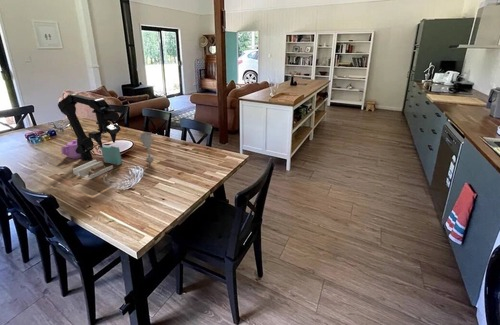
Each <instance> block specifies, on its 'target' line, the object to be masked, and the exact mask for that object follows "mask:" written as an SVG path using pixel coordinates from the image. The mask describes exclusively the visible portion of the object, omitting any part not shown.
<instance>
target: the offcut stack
mask: <svg viewBox="0 0 500 325" xmlns="http://www.w3.org/2000/svg"><path fill="white" fill-rule="evenodd" d="M107 167H108V166H105V164H99V165H97V166H95V167H93V168H91V170H90V171H88V172H89V173H88V175H89V176H90V175H92V174H94V173H96V172H98V171H100V170H103V169H105V168H107Z"/></svg>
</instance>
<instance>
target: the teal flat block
mask: <svg viewBox="0 0 500 325" xmlns="http://www.w3.org/2000/svg"><path fill="white" fill-rule="evenodd" d="M102 146H103V147H100V149H101V153H102V158H103V161H104V162H103V163H107V164H112V165H117V166H119V165H121V164H123V160H122V159H123V158H122V156H121V152H120V147H119V146H115V145H114V146H113V145H106V144H104V145H103V144H102Z"/></svg>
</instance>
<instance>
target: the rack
mask: <svg viewBox="0 0 500 325" xmlns="http://www.w3.org/2000/svg"><path fill="white" fill-rule="evenodd" d="M103 163H104V162H103V161H102V160H99V161H97V159H92V160H90V161H88V162H86V163H84V164H81V165H79V166H76V167H74V168H72V172H73V175H74V176H78V177H82V178H86V179H90V180H93V178H96V177H99V176H100V175H103V174H105V173H106V172H109V171H111V170H113V169H114V167H113V166H114V165H113V164H112V165H110V166H109V165H108V166H106V167H107V168H105V169H103V170H100V171H98V172H96V173H94V174H92V175H90V176H89V175H88V173H89V172H88V171H90V170H91V168H93V167H95V166H97V165H99V164H103ZM103 165H104V164H103Z"/></svg>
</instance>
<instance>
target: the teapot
mask: <svg viewBox="0 0 500 325" xmlns="http://www.w3.org/2000/svg"><path fill="white" fill-rule="evenodd" d="M77 147H78V145H77V139H73V140H71V141H69V142H67V143H66V144H65V145H63V146H61V147H60V148H61V154H62V155H64V156H67V157H68V158H69V159H73V160H74V159H80V158H81V155H80V154H78V153H76V151H75V150H76V149H77Z"/></svg>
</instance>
